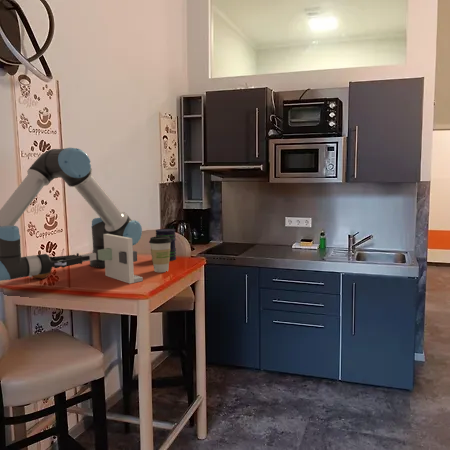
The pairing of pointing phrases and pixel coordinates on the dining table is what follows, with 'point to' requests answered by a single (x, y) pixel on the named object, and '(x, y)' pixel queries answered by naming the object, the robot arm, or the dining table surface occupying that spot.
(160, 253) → the coffee cup
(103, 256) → the sage button
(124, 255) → the black button
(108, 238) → the button panel
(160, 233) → the storage jar
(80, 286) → the dining table surface
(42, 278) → the onion
